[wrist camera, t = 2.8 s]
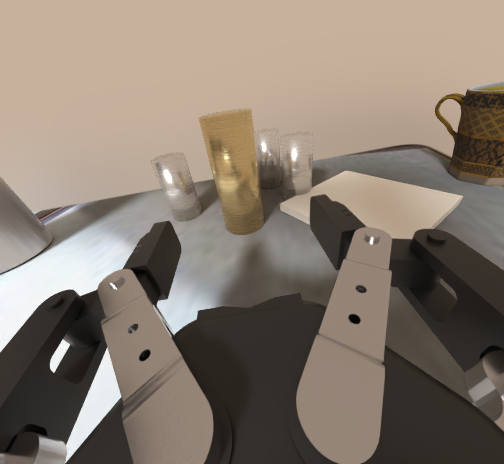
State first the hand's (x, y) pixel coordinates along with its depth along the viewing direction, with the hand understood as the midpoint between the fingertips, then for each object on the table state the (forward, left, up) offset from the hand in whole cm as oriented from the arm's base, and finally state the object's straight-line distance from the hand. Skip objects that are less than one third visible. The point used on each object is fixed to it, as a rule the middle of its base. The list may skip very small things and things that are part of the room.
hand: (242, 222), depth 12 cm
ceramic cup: (+35, -3, -8) cm, 36 cm away
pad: (+18, +2, -7) cm, 19 cm away
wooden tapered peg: (+6, +10, -7) cm, 14 cm away
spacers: (+8, +14, -7) cm, 18 cm away
